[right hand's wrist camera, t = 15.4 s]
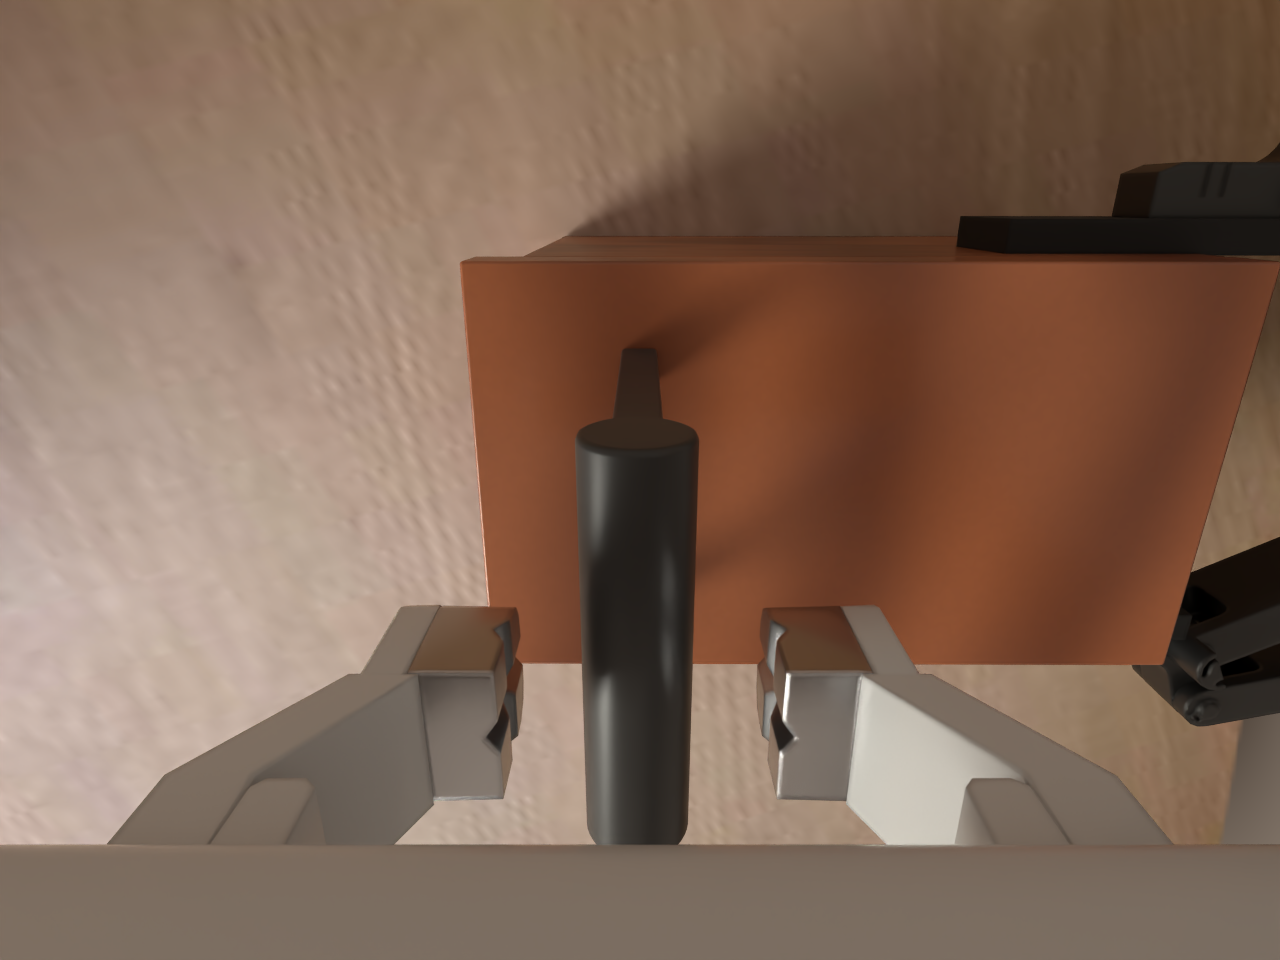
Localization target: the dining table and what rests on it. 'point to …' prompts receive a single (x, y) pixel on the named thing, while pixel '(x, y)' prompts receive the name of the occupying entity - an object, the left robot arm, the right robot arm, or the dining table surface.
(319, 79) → the dining table surface
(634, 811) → the lid
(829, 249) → the chest
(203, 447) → the dining table surface
